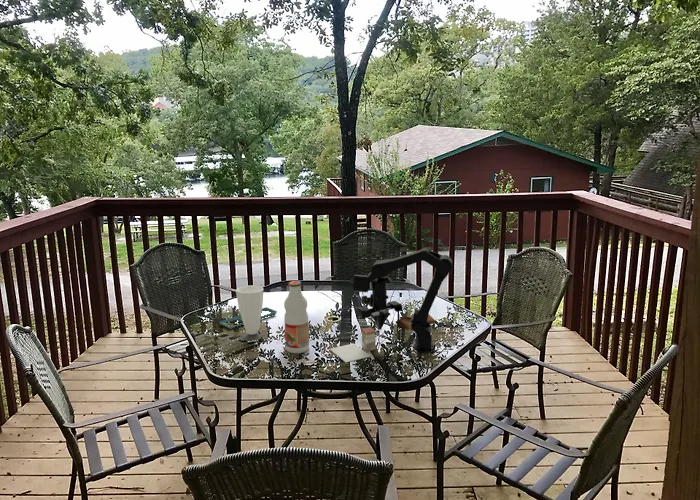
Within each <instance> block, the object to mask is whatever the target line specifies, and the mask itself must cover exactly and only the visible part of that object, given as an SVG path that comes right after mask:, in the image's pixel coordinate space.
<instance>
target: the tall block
mask: <svg viewBox="0 0 700 500" xmlns="http://www.w3.org/2000/svg"><path fill="white" fill-rule="evenodd" d="M361 349H362V350H364V351H365V352H371V351H374V350H376V329H374V328H372V327H366V328H365V327H364V328H363V329H362V328H361Z"/></svg>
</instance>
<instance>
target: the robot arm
mask: <svg viewBox="0 0 700 500" xmlns="http://www.w3.org/2000/svg"><path fill="white" fill-rule="evenodd" d="M420 262H425V263H427V264H429V265H430V266H432V267H434V268H435V269H434V273H433V277H432V279H431V282H430V285H429V287H428V289H427V291H426V294H425V296H424V299H423V300H422V303H421V305H420V307H419V308H418V309H417V308H414V310H413V314H411V315H412V316H411V315H410V316H411V321H410V323H411V328H412V330H411V331H413V332H414V333H415V344H414V345H412V348H413V349H415V350H417V351H418V352H419V353H426V352H430V351H433V350H435V349H436V348H435V347H434V346H432V343H433V342H432V341H433V339H432V324H431V323H430V324H429V323H428V322H427V319H428V314H429V315H430V311H431V310H432V309H431V308H432V306H433V304H434V302H435V300H436V297H437V294H438V293H439V290H440V288H441V285H442V283H443V282H444V280H445V279H446V278H447V276H448V275H449V274H450V271H451V270H452V269H453V260H452V258H451V257H450V256H449V255H447V254H440V253H438V252H436V251H432V250H429V249H428V248H425V247H424V248H421V249H419V250H417V251H414V252H413V251H412V252H411V253H407V254H405V255H401V256H398V257H396V258H389V259H387V258H386V259H379V260H376V261H375V262H374V263H373V266H371V271H370V272H369V273H368V274H367V275H366V274H365V275H363V274H362V275H360V274H354V276H353V284H352V292H354V293H368V292H369V291H370V290H371V289H372V290H371V291H372V292H371V293H370V297H369V296H367V295H363V296H361V299H360V301H361V304H362V305H365V306H362V307H357V308H356V309H355V315H356V316H358V317H359V318H361V319H368V318H371V317H372V318H373V320H374V322H375V326H376V327H377V330H379V331H381V330H382V328H383V326H384V325H385V323H386V321H387V319H388V318H389V316H391V313H390V312H389V310H394V311H395V312H396V313H397V312H398V313H399V312H402V311H403V304H402V303H400V302H398V301H397V300H392V301H388V300H389V295H387V294H388V293H387V289H388V288H387V286H388V284H391V283H392V281H393V280H392V278H391V277H389V275H390V274H391V273H392V272H393V271H395V270H398V269H402V268H404V267H407V266H411V265H413V264H414V265H415V264H416V263H417V264H418V263H420ZM451 272H452V271H451ZM387 301H388V302H387ZM367 306H369V307H370V308H368V307H367Z"/></svg>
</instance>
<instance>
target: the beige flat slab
mask: <svg viewBox="0 0 700 500" xmlns="http://www.w3.org/2000/svg"><path fill="white" fill-rule="evenodd" d="M329 350H330V352H332V353H333V354H334V355H336V356H337V357H338V358H340V359H341V360H342V361H343V362H344V363H346V364H347V363H350V362H355V361H359V360H361V359H362V360H363V359H367V358H370V357H372V355H371V354H369V353H368V352H367V351H366V350H364V349H363V348H362V347H360V346H358V345H357V344H355V343H350V344H346V345H341V346H337V347H333V348H332V347H331V348H329Z"/></svg>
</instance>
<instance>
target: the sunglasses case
mask: <svg viewBox="0 0 700 500" xmlns="http://www.w3.org/2000/svg"><path fill="white" fill-rule="evenodd" d="M412 315H413V314H410V315H408V316H404V317H400V318H398V320H397V321H396V323H397V324H396V325H397V326H398V327H401V328H403V329H404V330H409V331H413V330H412V328H411V323H410V321H411V316H412ZM427 322H428V323H429V324H430V325H431V324H434V323H437V322H438V320H436V319H434V318H433V317H432V316H431V315H430V313H429V314H428V319H427Z"/></svg>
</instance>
